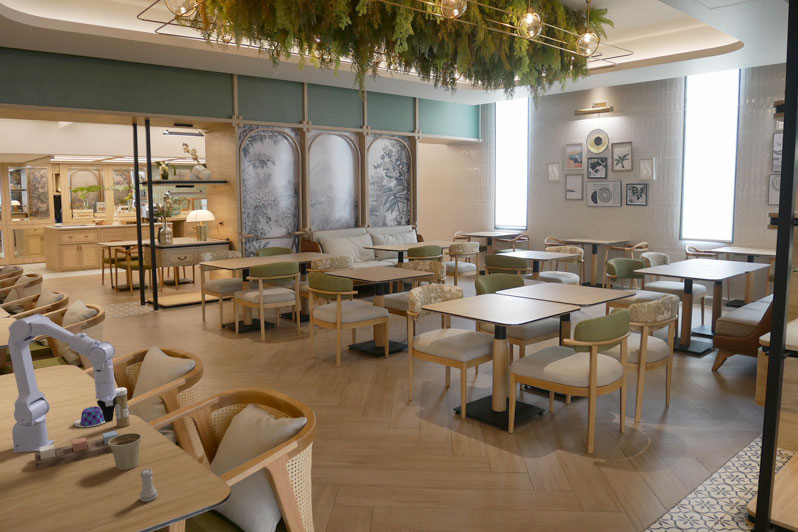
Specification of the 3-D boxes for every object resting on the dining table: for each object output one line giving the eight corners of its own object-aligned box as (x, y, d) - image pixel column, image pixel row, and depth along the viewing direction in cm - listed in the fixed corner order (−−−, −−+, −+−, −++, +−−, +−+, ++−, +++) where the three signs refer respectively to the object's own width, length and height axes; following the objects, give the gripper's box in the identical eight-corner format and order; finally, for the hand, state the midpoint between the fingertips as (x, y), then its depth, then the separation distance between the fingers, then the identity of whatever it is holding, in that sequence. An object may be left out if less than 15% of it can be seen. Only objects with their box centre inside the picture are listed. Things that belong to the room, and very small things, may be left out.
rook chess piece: (143, 494, 170) (140, 467, 169) (159, 493, 170) (157, 466, 169) (137, 503, 165) (134, 474, 164) (154, 501, 166) (152, 473, 165)
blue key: (104, 445, 200) (104, 437, 199) (103, 441, 203) (102, 433, 203) (118, 442, 202) (117, 434, 201) (116, 438, 205) (115, 430, 205)
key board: (36, 469, 188) (35, 463, 187) (35, 459, 195) (34, 453, 195) (125, 449, 201) (124, 443, 200) (120, 439, 208) (120, 434, 208)
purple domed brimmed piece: (66, 426, 223) (65, 412, 222) (94, 415, 234) (93, 401, 233) (91, 430, 218) (89, 416, 217) (118, 418, 229) (116, 404, 228)
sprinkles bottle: (131, 425, 221) (127, 389, 219) (117, 428, 218) (113, 392, 216) (128, 421, 224) (125, 386, 223) (115, 424, 222) (111, 388, 220)
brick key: (73, 453, 195) (72, 444, 195) (72, 448, 198) (71, 440, 198) (87, 449, 197) (86, 441, 197) (86, 445, 200) (85, 437, 200)
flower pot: (111, 476, 182) (108, 448, 181) (109, 463, 190) (107, 437, 189) (145, 468, 186) (143, 440, 185) (142, 456, 194) (140, 430, 193)
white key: (40, 460, 190) (39, 451, 190) (40, 456, 194) (39, 447, 193) (55, 457, 192) (54, 448, 192) (54, 452, 196) (53, 444, 195)
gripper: (121, 384, 196) (125, 425, 197) (114, 373, 208) (118, 411, 210) (96, 388, 192) (101, 430, 194) (91, 377, 204) (95, 416, 206)
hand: (108, 421), depth 201 cm, fingers closed
